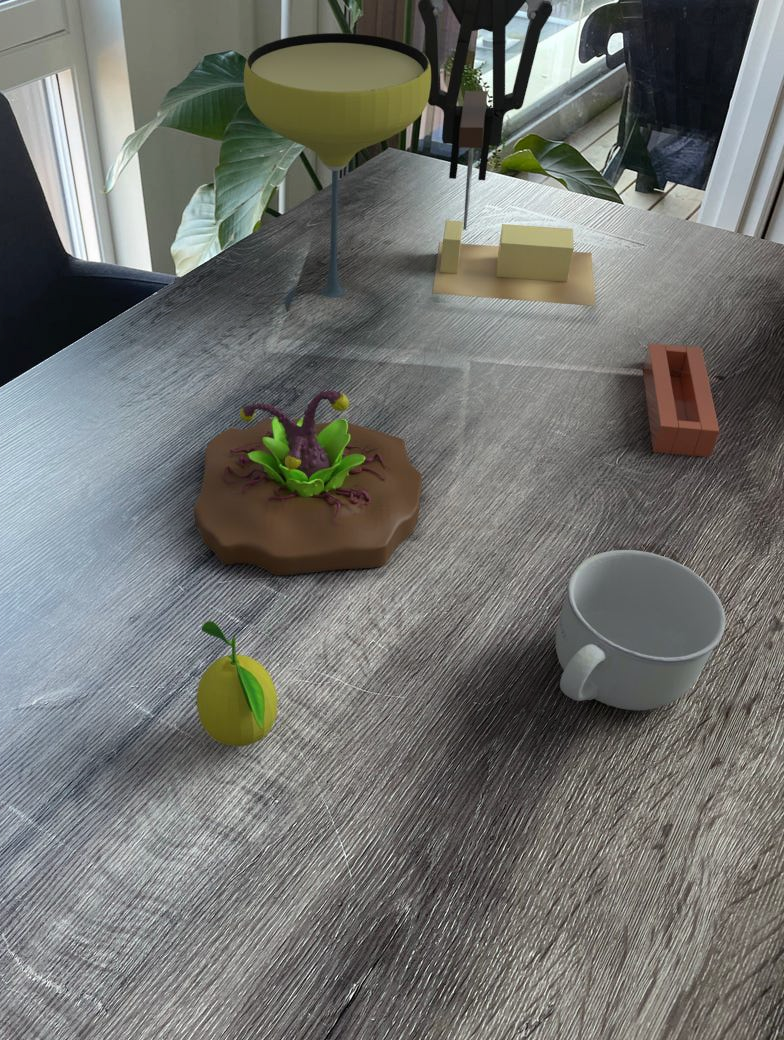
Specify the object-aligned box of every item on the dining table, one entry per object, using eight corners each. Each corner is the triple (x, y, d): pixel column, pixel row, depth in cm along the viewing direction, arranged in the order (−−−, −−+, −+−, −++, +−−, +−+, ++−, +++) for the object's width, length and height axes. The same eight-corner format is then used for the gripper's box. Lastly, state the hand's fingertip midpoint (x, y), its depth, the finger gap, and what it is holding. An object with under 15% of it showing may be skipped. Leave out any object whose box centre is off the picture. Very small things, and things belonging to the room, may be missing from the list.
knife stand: (692, 378, 106) (701, 347, 103) (708, 463, 96) (719, 431, 93) (640, 374, 106) (648, 342, 104) (651, 458, 96) (660, 425, 94)
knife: (479, 189, 119) (487, 90, 112) (475, 230, 112) (483, 127, 104) (458, 188, 120) (465, 90, 112) (453, 229, 112) (459, 127, 105)
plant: (422, 583, 84) (434, 471, 76) (183, 572, 85) (171, 461, 77) (418, 441, 98) (429, 333, 90) (214, 433, 99) (206, 326, 91)
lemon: (208, 695, 76) (198, 595, 69) (286, 705, 75) (285, 606, 68) (185, 767, 71) (172, 668, 64) (268, 779, 70) (265, 680, 63)
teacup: (618, 606, 82) (642, 529, 77) (727, 691, 76) (762, 613, 70) (486, 680, 77) (501, 602, 71) (592, 777, 71) (617, 700, 65)
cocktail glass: (341, 253, 126) (348, 21, 108) (446, 310, 116) (472, 65, 98) (220, 298, 118) (206, 56, 100) (321, 363, 108) (325, 107, 90)
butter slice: (459, 254, 122) (463, 221, 119) (457, 274, 119) (461, 240, 116) (442, 253, 122) (445, 219, 119) (439, 272, 119) (443, 238, 116)
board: (589, 264, 124) (591, 252, 122) (593, 318, 115) (595, 305, 114) (438, 253, 125) (439, 241, 124) (430, 305, 117) (432, 292, 115)
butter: (566, 262, 121) (572, 228, 118) (567, 282, 117) (573, 248, 114) (497, 257, 122) (502, 223, 119) (496, 276, 118) (501, 242, 115)
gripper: (407, -77, 95) (393, 184, 111) (580, -72, 93) (539, 192, 110) (414, -95, 100) (400, 157, 116) (578, -90, 98) (539, 165, 115)
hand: (467, 174), depth 113 cm, fingers closed on knife, 2 cm apart
